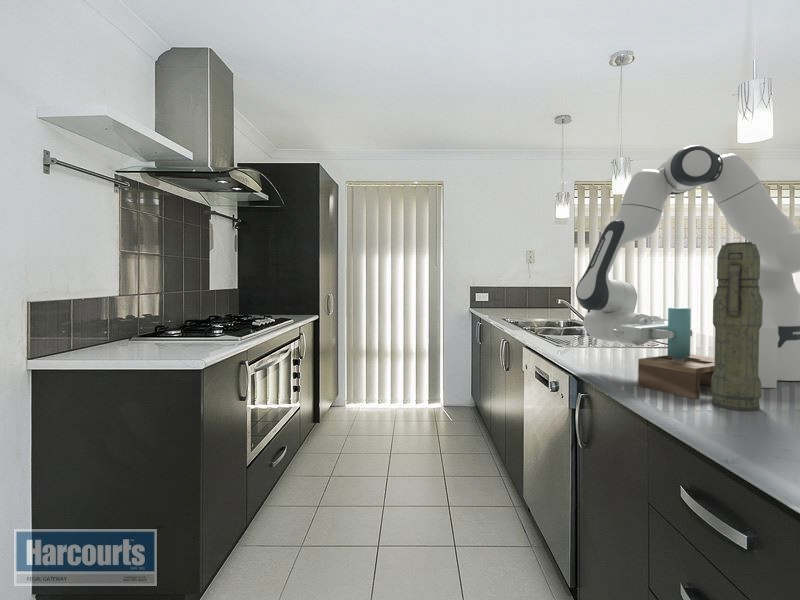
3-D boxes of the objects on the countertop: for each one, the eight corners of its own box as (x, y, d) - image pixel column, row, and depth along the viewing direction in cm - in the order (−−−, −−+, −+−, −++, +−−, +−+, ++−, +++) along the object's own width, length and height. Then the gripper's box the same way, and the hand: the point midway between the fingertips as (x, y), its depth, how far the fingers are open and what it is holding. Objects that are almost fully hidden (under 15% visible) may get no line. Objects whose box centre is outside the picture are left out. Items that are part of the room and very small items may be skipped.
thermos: (709, 408, 104) (712, 242, 103) (712, 397, 114) (714, 245, 112) (761, 415, 100) (765, 240, 98) (759, 402, 109) (763, 243, 108)
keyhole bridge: (684, 378, 134) (684, 353, 134) (742, 390, 120) (743, 361, 120) (638, 386, 126) (638, 358, 126) (695, 399, 113) (695, 368, 112)
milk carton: (776, 388, 121) (778, 311, 120) (744, 387, 123) (746, 311, 122) (761, 382, 128) (763, 309, 127) (731, 381, 130) (733, 309, 129)
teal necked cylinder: (669, 369, 130) (670, 307, 129) (693, 372, 126) (694, 308, 125) (662, 373, 126) (663, 308, 125) (687, 376, 122) (688, 309, 121)
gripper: (608, 319, 132) (654, 324, 120) (659, 315, 141) (707, 319, 129) (607, 343, 133) (654, 349, 120) (659, 337, 141) (707, 343, 129)
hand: (682, 334), depth 125 cm, fingers closed on teal necked cylinder, 5 cm apart
